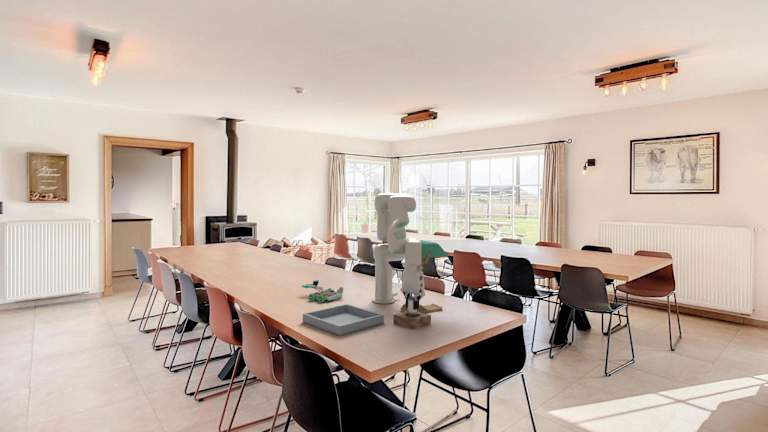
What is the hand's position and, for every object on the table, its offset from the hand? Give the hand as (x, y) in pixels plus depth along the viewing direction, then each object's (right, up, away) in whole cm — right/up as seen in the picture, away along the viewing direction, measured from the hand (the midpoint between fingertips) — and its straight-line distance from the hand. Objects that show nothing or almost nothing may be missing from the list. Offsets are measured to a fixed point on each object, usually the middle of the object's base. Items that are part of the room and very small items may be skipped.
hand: (412, 307), depth 192 cm
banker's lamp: (+7, -7, +23) cm, 25 cm away
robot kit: (-49, -5, +48) cm, 69 cm away
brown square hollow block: (0, -7, 0) cm, 7 cm away
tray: (-31, -7, 0) cm, 32 cm away
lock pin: (0, -7, 0) cm, 7 cm away
